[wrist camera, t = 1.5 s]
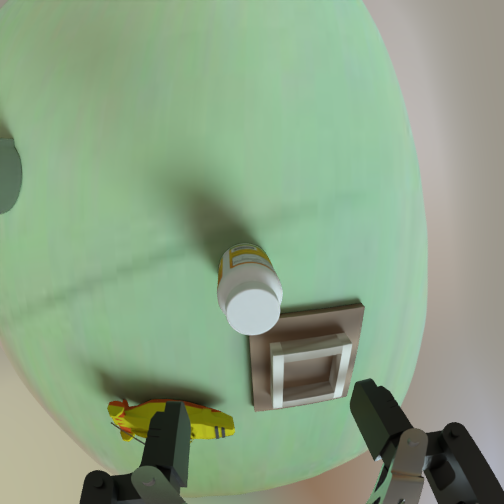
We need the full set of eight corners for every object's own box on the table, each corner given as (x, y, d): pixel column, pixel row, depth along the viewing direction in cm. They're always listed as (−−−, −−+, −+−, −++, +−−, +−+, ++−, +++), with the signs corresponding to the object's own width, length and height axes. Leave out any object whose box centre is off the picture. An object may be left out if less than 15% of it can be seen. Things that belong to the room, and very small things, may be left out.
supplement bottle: (244, 299, 30) (253, 354, 20) (208, 267, 28) (200, 314, 19) (280, 266, 29) (304, 310, 20) (244, 231, 27) (253, 263, 18)
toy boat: (111, 385, 32) (91, 434, 23) (232, 392, 34) (236, 450, 24) (122, 411, 34) (108, 459, 25) (233, 418, 36) (237, 471, 26)
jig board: (247, 316, 30) (250, 333, 27) (361, 302, 31) (373, 316, 28) (254, 406, 35) (256, 424, 32) (344, 391, 36) (352, 407, 33)
